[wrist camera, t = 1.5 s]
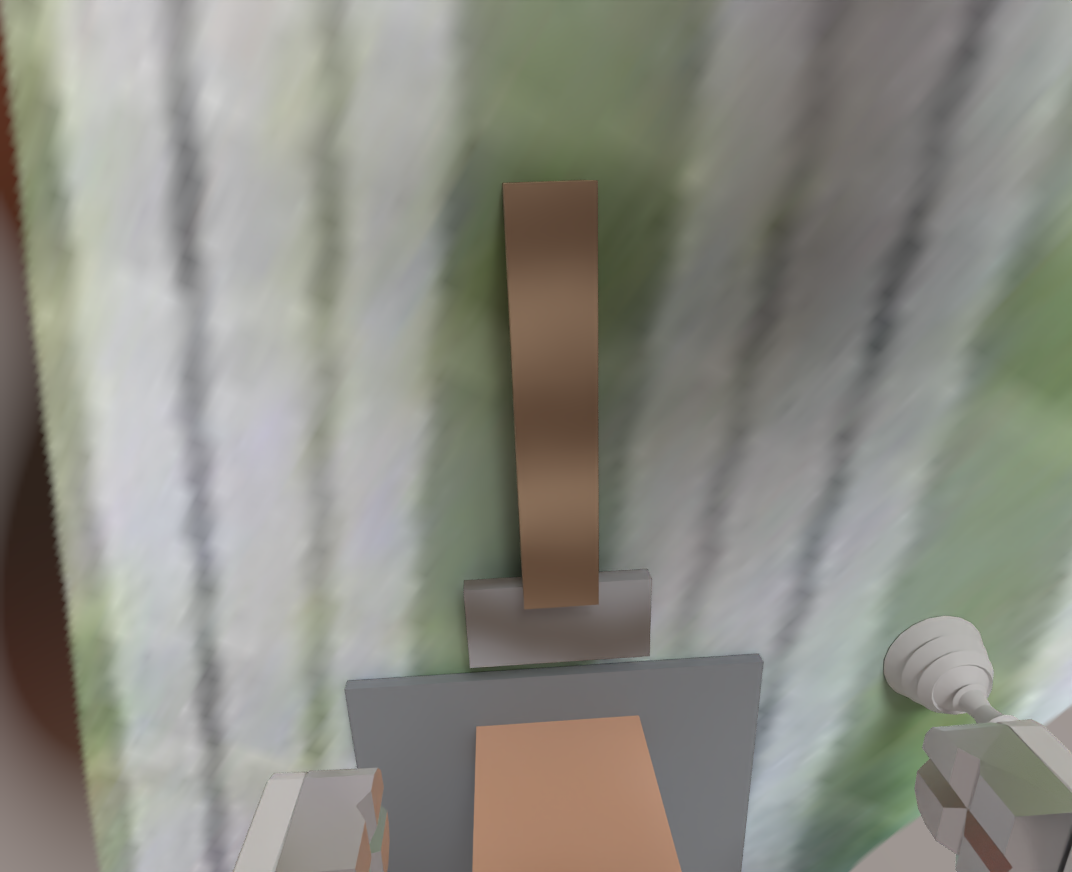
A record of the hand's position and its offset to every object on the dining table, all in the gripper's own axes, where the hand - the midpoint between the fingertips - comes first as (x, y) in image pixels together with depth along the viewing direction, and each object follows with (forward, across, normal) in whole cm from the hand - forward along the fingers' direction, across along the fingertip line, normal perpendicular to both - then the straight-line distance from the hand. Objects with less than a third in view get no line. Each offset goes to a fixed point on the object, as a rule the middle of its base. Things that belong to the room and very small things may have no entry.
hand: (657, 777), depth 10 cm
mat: (+20, 0, +23) cm, 30 cm away
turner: (+20, 0, +2) cm, 20 cm away
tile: (+19, 0, +18) cm, 26 cm away
